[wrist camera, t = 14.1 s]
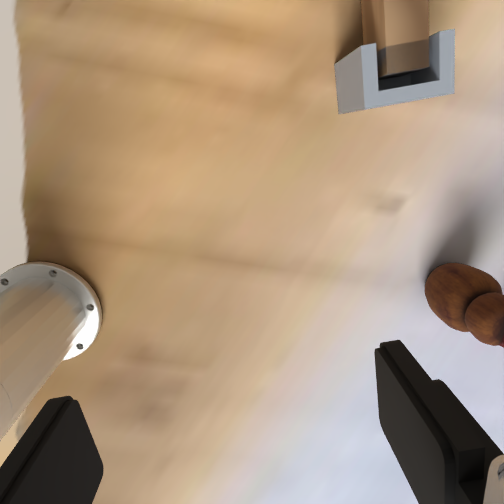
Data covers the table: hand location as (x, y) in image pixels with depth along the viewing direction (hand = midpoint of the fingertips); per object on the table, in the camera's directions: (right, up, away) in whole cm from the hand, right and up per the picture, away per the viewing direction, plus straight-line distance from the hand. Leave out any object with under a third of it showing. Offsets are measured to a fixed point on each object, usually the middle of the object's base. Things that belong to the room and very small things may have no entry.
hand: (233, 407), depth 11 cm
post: (+13, +22, +25) cm, 36 cm away
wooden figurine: (+24, +1, +33) cm, 40 cm away
